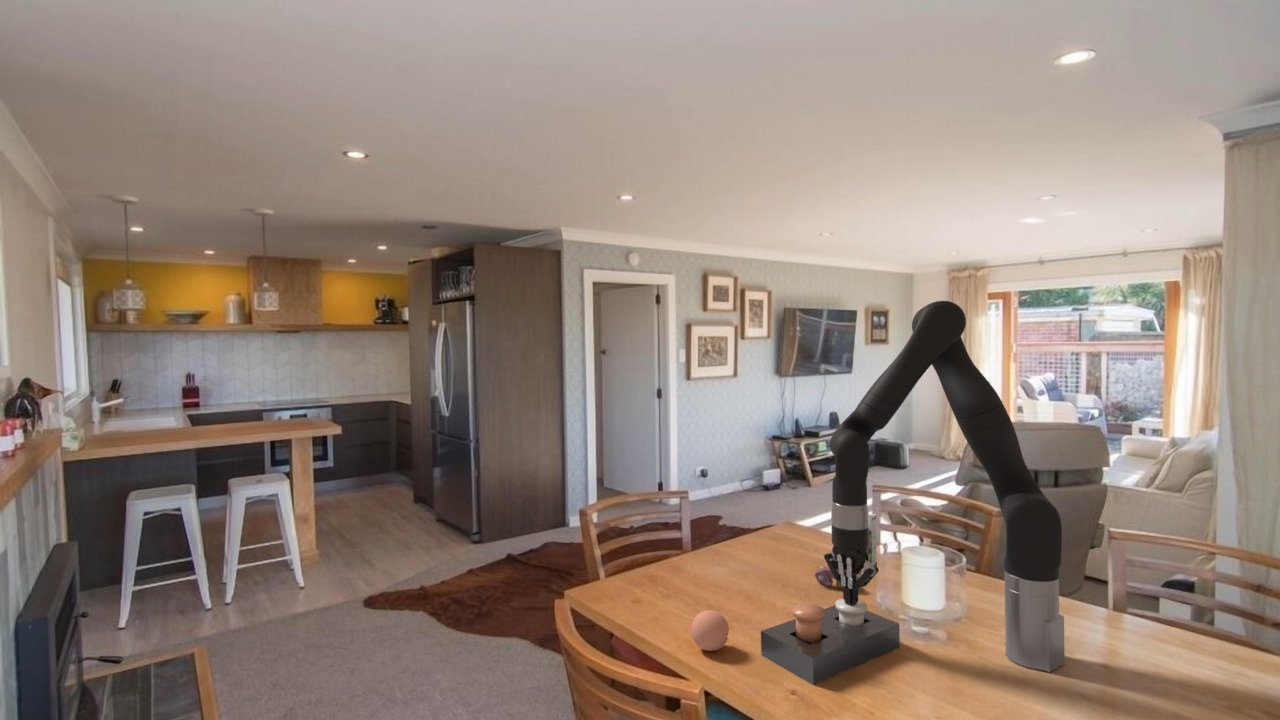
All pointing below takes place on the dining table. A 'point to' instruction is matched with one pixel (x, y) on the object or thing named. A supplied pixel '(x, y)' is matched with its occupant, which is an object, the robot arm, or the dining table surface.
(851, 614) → the grey button
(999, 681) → the dining table surface
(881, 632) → the button panel
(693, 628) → the toy ball
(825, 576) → the video game controller
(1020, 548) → the robot arm
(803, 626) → the terracotta button
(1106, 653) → the dining table surface
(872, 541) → the syrup box
